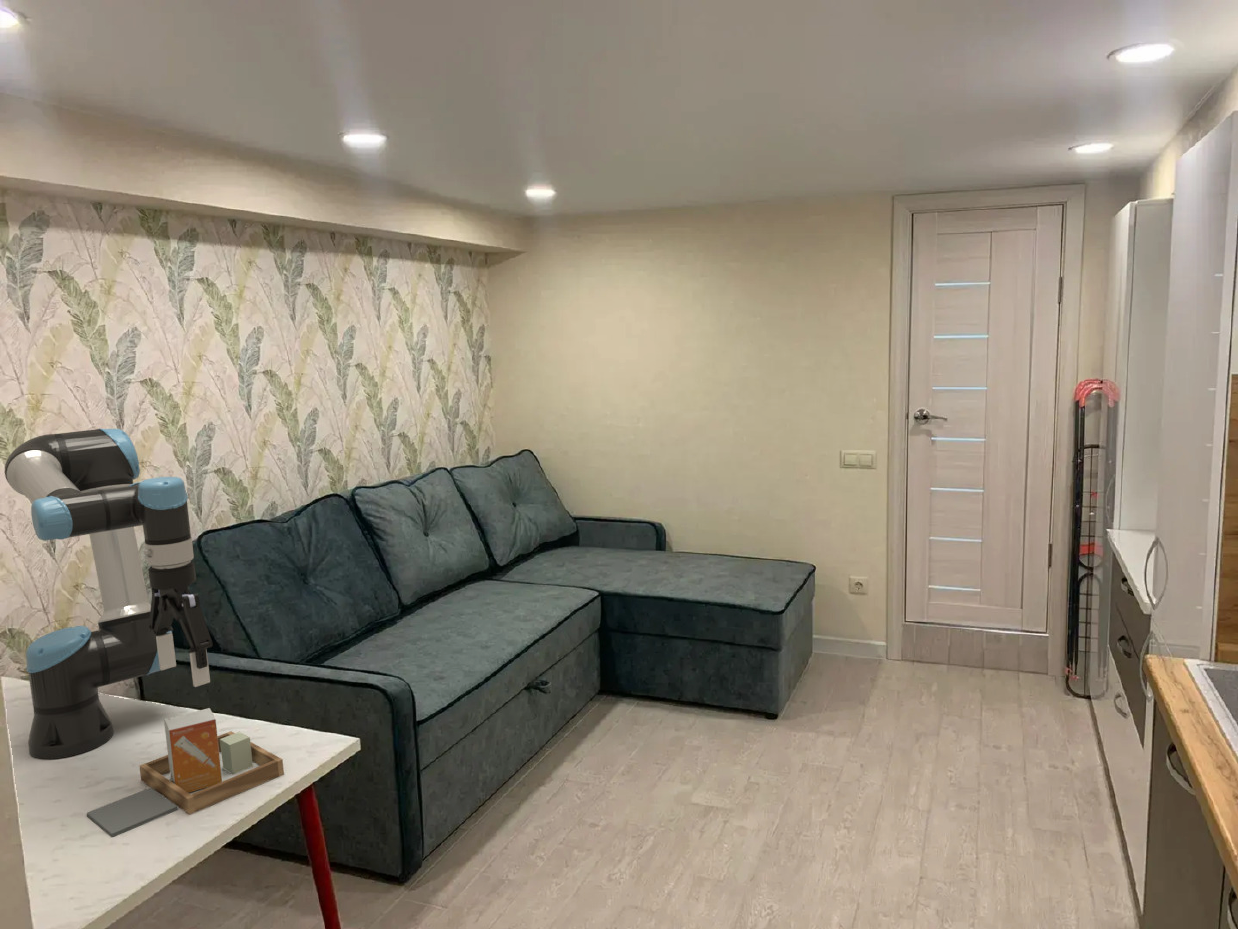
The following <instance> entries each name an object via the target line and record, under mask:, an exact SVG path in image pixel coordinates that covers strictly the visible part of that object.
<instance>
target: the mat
mask: <svg viewBox="0 0 1238 929" xmlns="http://www.w3.org/2000/svg"><path fill="white" fill-rule="evenodd" d="M178 808H179V807H178V806H177V805H175V804H174V803H172V802H171V801H170V800H168V799H167V798H165V797H164V796H163V795H161V794H160V793H158V792H157V791H156V790H154V789H153V788H151V787H150V786H149V788H145V789H143V790H141V791H138V792H136V793H134V794H133V793H132V794H131V795H127V796H126V797H123V798H121V799H118V800H115V801H113V802H110V803H107V804H105V805H103V806H100V807H98V808H95V809H93V810H89V811H88V812H86V817H88V818H89V819H90V820H91V821H93V822H94V824H96V825H97V826H98V827H99V828H101V829H102V830H103V831H104V832H106V833H107V834H108V835H109V836H110V837H112V838H113V837H115V836H116V837H117V836H118V835H121V834H123V833H125V832H128V831H131V830H132V829H135V828H137V827H139V826H142V825H144V824H147V823H149V822H152V821H155V820H157V819H158V818H161V817H163V816H166V815H168V814H170V813H173V812H176V811H178V810H179V809H178Z"/></svg>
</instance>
